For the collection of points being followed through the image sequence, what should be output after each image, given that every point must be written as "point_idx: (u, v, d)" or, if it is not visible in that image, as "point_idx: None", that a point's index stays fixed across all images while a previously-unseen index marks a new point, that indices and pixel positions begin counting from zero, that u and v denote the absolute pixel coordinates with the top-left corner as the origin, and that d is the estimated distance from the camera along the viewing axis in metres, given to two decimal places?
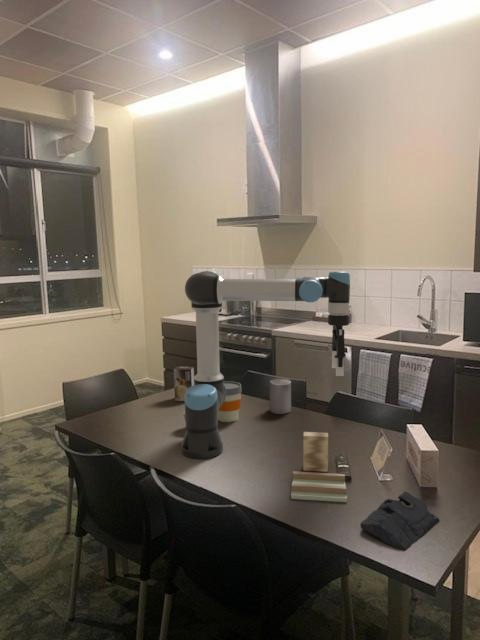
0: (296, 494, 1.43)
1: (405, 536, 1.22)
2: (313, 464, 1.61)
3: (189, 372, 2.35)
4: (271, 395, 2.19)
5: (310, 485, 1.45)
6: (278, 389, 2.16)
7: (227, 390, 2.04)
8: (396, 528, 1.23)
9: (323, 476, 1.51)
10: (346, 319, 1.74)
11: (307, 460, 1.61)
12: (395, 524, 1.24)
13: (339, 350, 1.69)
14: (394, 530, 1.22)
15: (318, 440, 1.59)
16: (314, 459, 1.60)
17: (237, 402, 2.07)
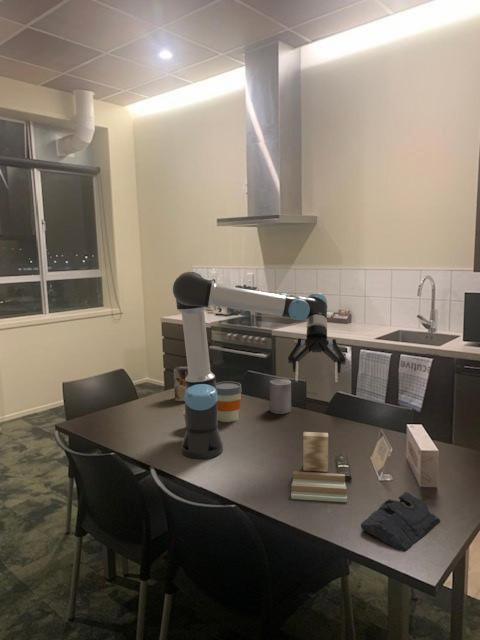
0: (296, 494, 1.43)
1: (406, 537, 1.21)
2: (313, 464, 1.61)
3: None
4: (271, 395, 2.19)
5: (310, 485, 1.45)
6: (278, 389, 2.16)
7: (227, 390, 2.04)
8: (397, 528, 1.23)
9: (323, 476, 1.51)
10: None
11: (308, 460, 1.61)
12: (395, 525, 1.24)
13: None
14: (395, 530, 1.22)
15: (318, 440, 1.59)
16: (314, 459, 1.60)
17: (237, 402, 2.07)
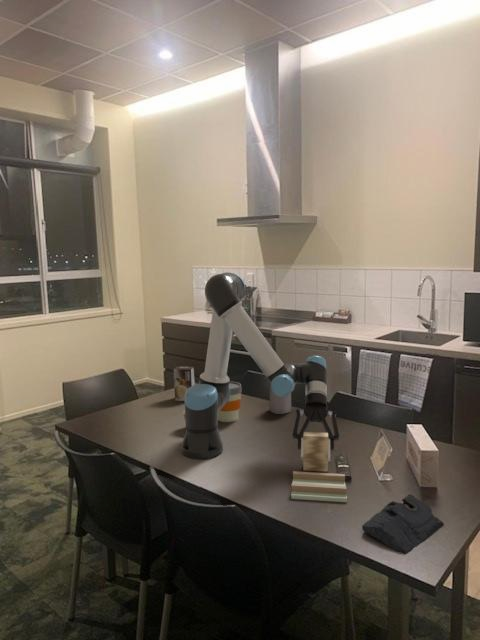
0: (296, 494, 1.43)
1: (407, 539, 1.20)
2: (313, 464, 1.61)
3: (189, 372, 2.35)
4: (271, 395, 2.19)
5: (310, 485, 1.45)
6: None
7: None
8: (398, 531, 1.22)
9: (323, 476, 1.51)
10: None
11: (308, 460, 1.61)
12: (397, 527, 1.23)
13: (338, 432, 1.63)
14: (396, 533, 1.21)
15: (318, 440, 1.59)
16: (314, 459, 1.60)
17: (237, 402, 2.07)
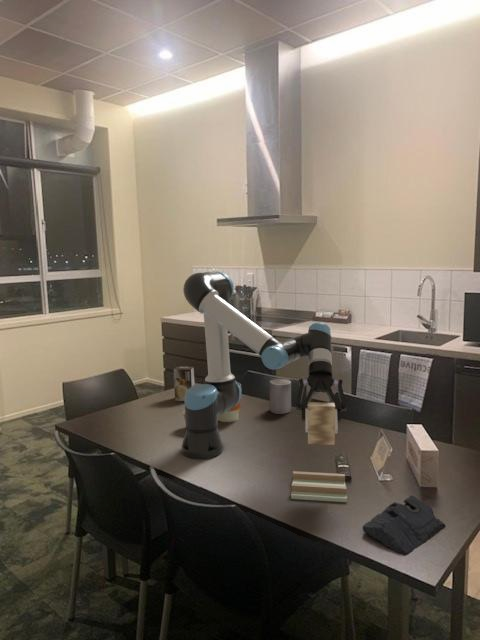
0: (296, 494, 1.43)
1: (407, 540, 1.20)
2: (318, 437, 1.47)
3: (189, 372, 2.35)
4: (271, 395, 2.19)
5: (310, 485, 1.45)
6: (278, 389, 2.16)
7: None
8: (399, 532, 1.21)
9: (323, 476, 1.51)
10: None
11: (313, 432, 1.47)
12: (398, 528, 1.23)
13: None
14: (396, 534, 1.21)
15: (324, 410, 1.46)
16: (319, 431, 1.47)
17: None
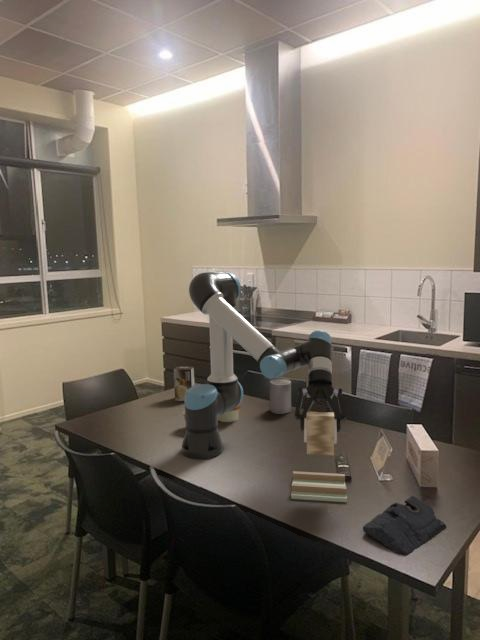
0: (296, 494, 1.43)
1: (408, 541, 1.19)
2: (318, 447, 1.45)
3: (189, 372, 2.35)
4: (271, 395, 2.19)
5: (310, 485, 1.45)
6: (278, 389, 2.16)
7: None
8: (399, 532, 1.21)
9: (323, 476, 1.51)
10: None
11: (311, 442, 1.45)
12: (398, 528, 1.22)
13: None
14: (396, 534, 1.20)
15: (323, 420, 1.43)
16: (318, 441, 1.45)
17: None
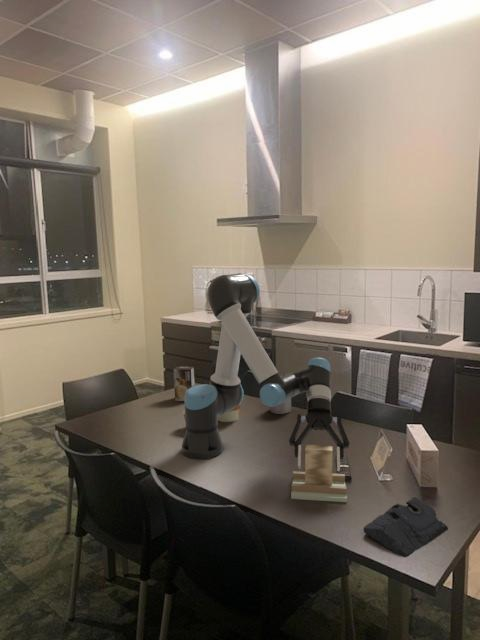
0: (296, 494, 1.43)
1: (408, 542, 1.19)
2: (316, 480, 1.47)
3: (189, 372, 2.35)
4: None
5: (310, 485, 1.45)
6: None
7: None
8: (400, 534, 1.21)
9: None
10: None
11: (310, 476, 1.47)
12: (399, 530, 1.22)
13: None
14: (397, 535, 1.20)
15: (322, 454, 1.45)
16: (316, 475, 1.46)
17: None
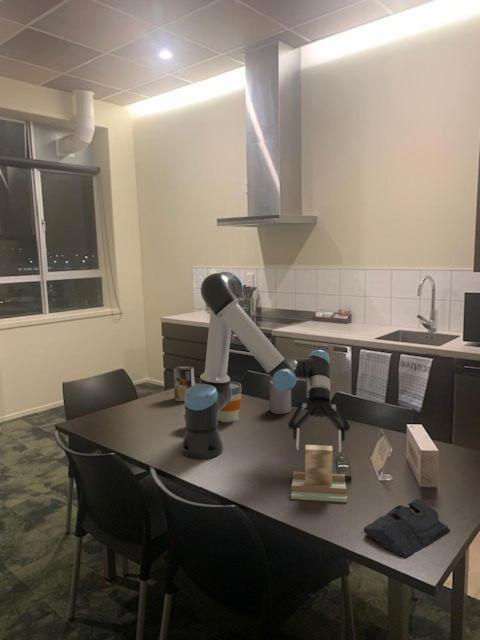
0: (296, 494, 1.43)
1: (408, 544, 1.18)
2: (316, 480, 1.47)
3: (189, 372, 2.35)
4: (271, 395, 2.19)
5: (310, 485, 1.45)
6: None
7: None
8: (400, 535, 1.20)
9: None
10: None
11: (310, 476, 1.47)
12: (399, 531, 1.21)
13: None
14: (397, 536, 1.19)
15: (322, 454, 1.45)
16: (316, 475, 1.46)
17: (237, 402, 2.07)
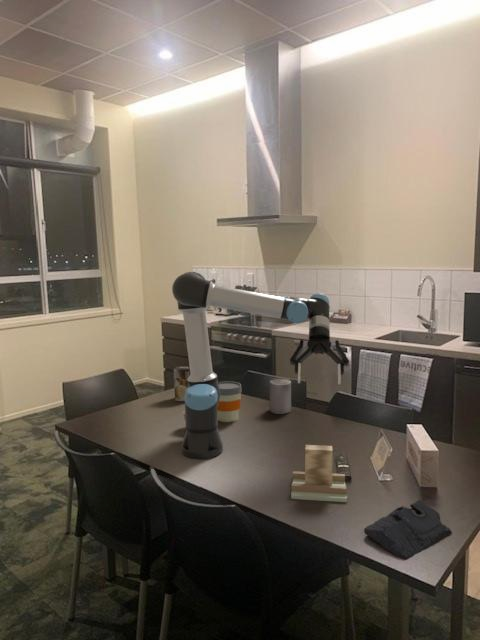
0: (296, 494, 1.43)
1: (408, 545, 1.18)
2: (316, 480, 1.47)
3: (189, 372, 2.35)
4: (271, 395, 2.19)
5: (310, 485, 1.45)
6: (278, 389, 2.16)
7: (227, 390, 2.04)
8: (400, 536, 1.20)
9: None
10: None
11: (310, 476, 1.47)
12: (400, 532, 1.21)
13: None
14: (397, 538, 1.19)
15: (322, 454, 1.45)
16: (316, 475, 1.46)
17: (237, 402, 2.07)
